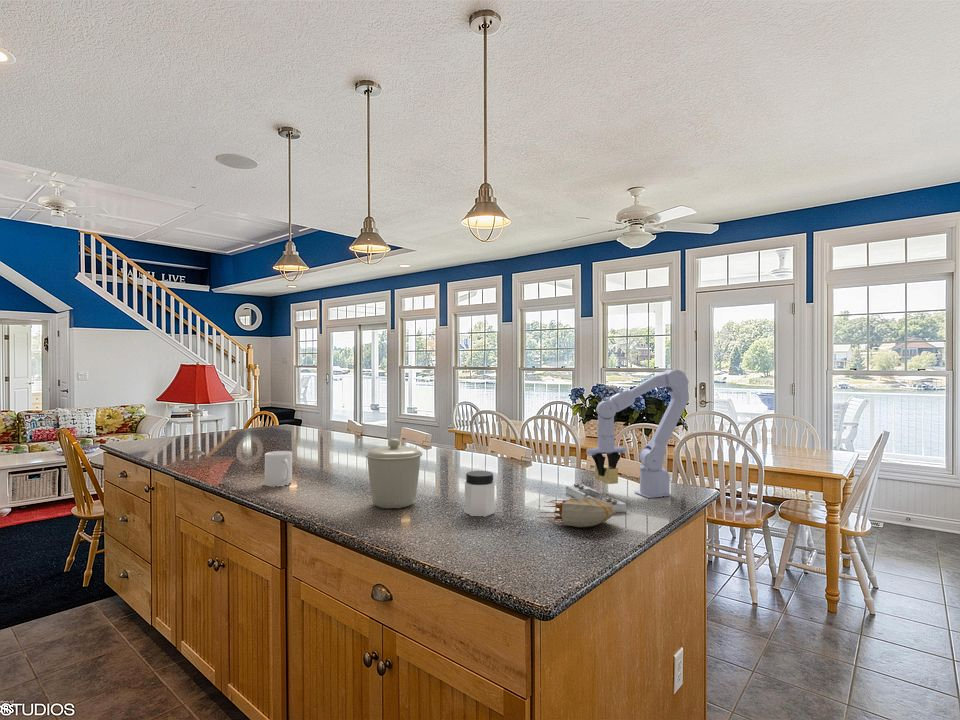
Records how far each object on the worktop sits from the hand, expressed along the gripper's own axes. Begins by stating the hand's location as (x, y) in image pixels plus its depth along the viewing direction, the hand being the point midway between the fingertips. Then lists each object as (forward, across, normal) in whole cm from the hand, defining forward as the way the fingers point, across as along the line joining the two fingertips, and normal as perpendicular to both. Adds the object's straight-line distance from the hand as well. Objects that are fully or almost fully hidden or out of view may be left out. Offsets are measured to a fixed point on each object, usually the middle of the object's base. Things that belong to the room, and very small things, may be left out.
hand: (606, 474), depth 182 cm
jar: (+6, +49, +8) cm, 50 cm away
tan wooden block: (+2, 0, 0) cm, 2 cm away
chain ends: (+6, +10, +8) cm, 14 cm away
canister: (+6, +72, -9) cm, 73 cm away
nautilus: (+7, +27, +26) cm, 38 cm away
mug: (+6, +107, -49) cm, 118 cm away
